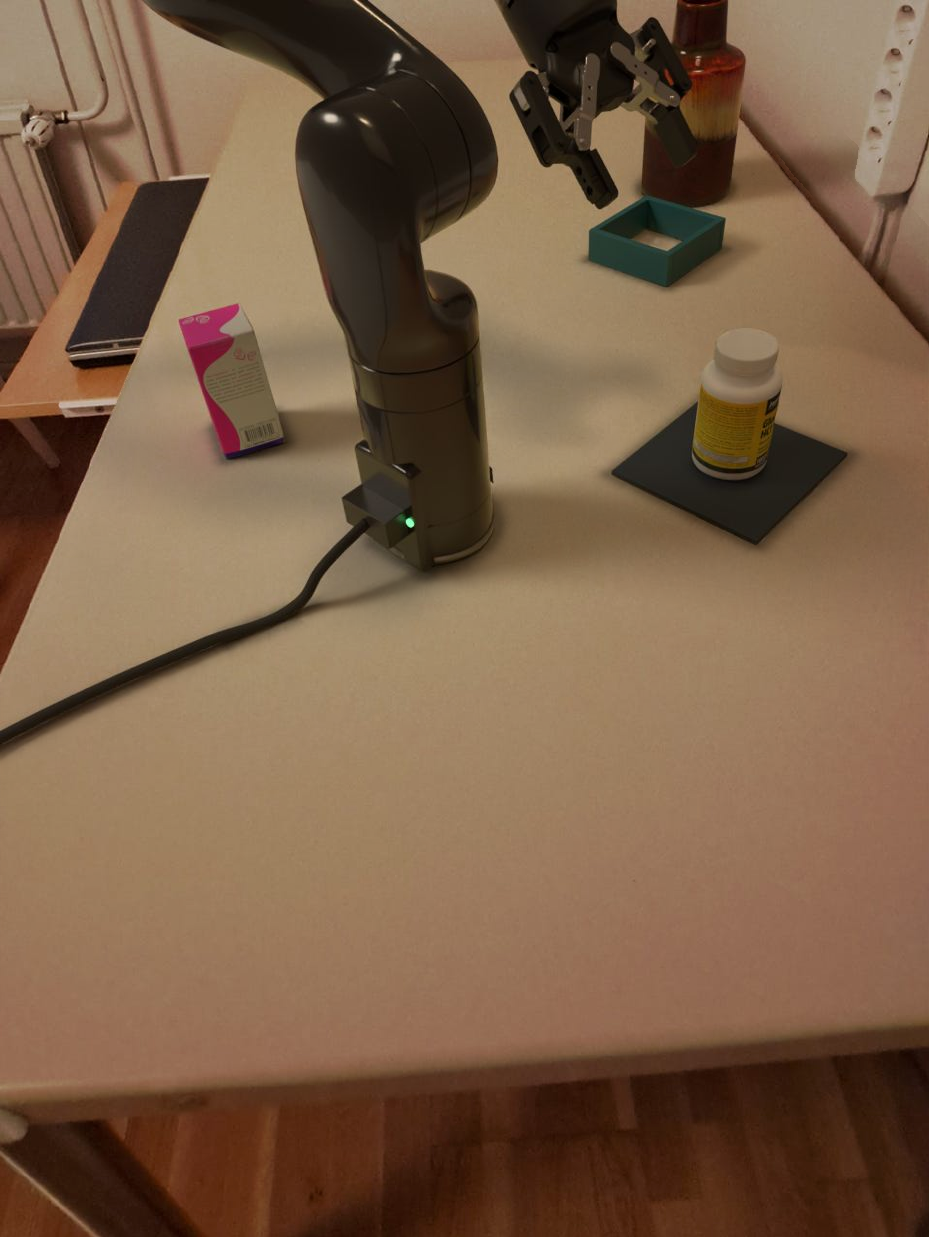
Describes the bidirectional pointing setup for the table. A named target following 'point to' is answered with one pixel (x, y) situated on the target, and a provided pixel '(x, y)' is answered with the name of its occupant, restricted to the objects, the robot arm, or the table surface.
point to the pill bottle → (737, 405)
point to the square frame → (649, 262)
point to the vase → (700, 109)
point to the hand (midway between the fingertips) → (648, 182)
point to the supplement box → (232, 379)
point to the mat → (730, 502)
